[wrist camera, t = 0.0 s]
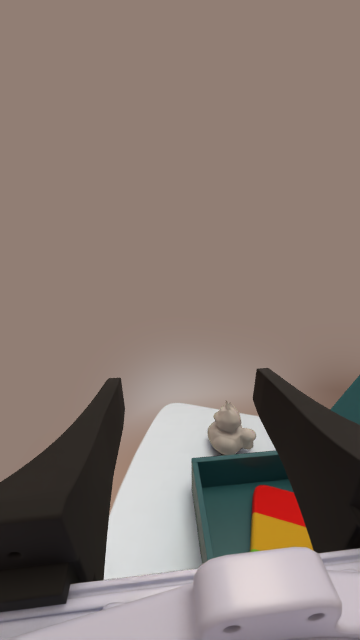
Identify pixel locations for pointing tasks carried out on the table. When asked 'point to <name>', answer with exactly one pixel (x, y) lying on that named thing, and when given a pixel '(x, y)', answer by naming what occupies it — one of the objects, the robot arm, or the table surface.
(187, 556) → the table surface
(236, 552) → the box
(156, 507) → the table surface
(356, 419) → the lunchbox lid
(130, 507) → the table surface
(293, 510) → the popsicle
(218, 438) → the beige clay figurine
